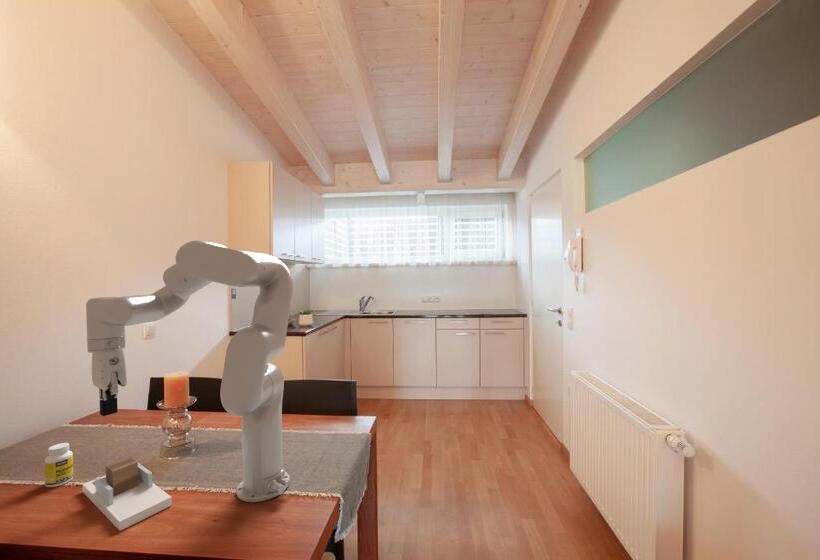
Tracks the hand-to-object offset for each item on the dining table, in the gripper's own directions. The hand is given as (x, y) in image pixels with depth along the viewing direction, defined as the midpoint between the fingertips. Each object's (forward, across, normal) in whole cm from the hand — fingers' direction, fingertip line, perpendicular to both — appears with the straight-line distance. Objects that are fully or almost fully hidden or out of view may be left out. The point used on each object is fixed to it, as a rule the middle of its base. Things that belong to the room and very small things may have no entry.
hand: (108, 413), depth 92 cm
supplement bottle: (+19, +14, +7) cm, 25 cm away
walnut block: (+17, -8, 0) cm, 19 cm away
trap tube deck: (+19, -10, 0) cm, 22 cm away
